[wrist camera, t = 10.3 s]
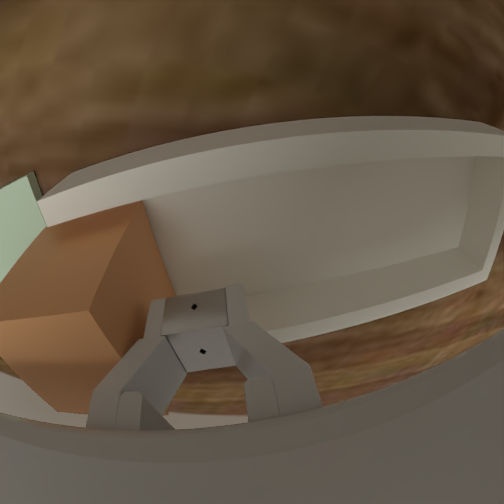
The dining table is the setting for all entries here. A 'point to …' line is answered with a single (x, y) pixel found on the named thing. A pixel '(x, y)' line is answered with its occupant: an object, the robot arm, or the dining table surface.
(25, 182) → the pad
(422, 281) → the chute
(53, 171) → the dining table surface
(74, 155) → the dining table surface
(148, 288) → the block
